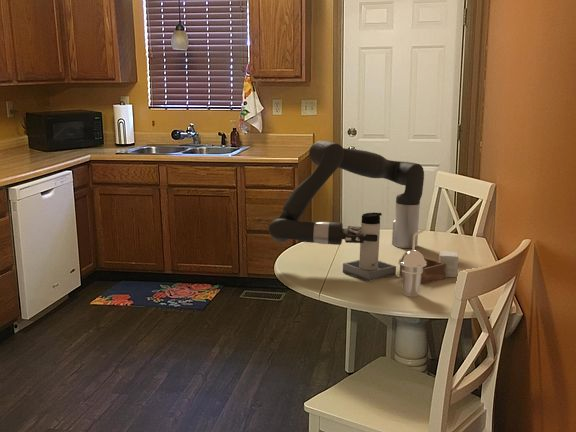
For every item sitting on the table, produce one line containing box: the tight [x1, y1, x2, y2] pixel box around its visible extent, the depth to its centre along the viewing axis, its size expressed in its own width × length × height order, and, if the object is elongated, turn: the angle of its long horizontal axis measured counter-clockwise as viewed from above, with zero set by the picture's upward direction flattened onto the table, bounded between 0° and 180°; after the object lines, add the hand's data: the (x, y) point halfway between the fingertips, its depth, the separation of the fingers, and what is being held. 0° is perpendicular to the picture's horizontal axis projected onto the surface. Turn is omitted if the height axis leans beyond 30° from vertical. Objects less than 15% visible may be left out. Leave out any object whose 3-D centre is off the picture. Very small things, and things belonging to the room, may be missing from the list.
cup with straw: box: [398, 228, 427, 298], centre depth 190 cm, size 8×9×20 cm
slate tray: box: [342, 259, 397, 282], centre depth 212 cm, size 13×13×3 cm
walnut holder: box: [399, 256, 446, 285], centre depth 209 cm, size 11×11×5 cm
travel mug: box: [359, 212, 383, 271], centre depth 210 cm, size 6×7×20 cm
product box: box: [438, 250, 459, 278], centre depth 212 cm, size 6×6×7 cm
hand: (377, 235), depth 210 cm, fingers open, 6 cm apart
